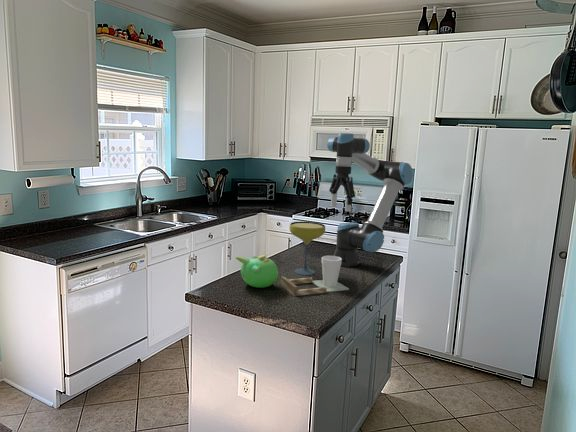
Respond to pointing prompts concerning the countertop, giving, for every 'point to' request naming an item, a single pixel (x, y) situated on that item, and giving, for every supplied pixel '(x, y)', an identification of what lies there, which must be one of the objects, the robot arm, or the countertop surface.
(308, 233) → the cocktail glass
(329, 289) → the pad
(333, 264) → the foam cup
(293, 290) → the wooden u-shaped frame
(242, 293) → the countertop surface
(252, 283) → the toy bird
